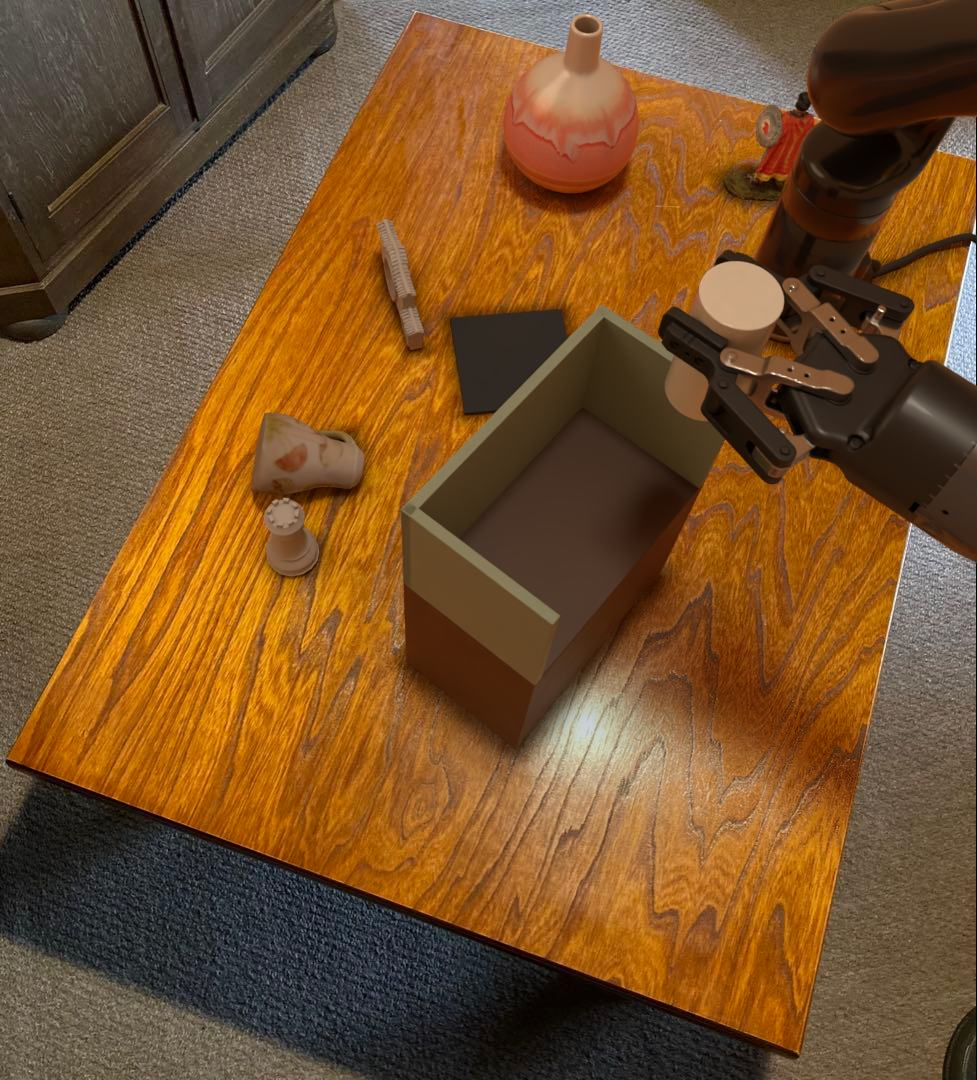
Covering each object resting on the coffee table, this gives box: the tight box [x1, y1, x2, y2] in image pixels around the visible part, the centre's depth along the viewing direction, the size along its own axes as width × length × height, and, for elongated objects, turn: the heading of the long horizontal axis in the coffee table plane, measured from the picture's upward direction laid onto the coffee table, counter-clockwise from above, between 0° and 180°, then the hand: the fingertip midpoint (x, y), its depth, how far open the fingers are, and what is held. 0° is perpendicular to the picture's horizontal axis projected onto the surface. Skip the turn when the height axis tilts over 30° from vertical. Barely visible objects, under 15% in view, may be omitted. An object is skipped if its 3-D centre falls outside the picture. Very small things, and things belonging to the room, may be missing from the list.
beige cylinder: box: [665, 261, 784, 421], centre depth 61 cm, size 5×5×9 cm
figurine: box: [723, 90, 815, 202], centre depth 109 cm, size 8×5×12 cm, turn 81°
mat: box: [449, 308, 569, 416], centre depth 103 cm, size 11×11×1 cm
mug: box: [251, 412, 366, 496], centre depth 94 cm, size 8×10×10 cm
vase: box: [502, 13, 640, 194], centre depth 106 cm, size 14×14×18 cm
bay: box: [400, 303, 726, 750], centre depth 79 cm, size 12×21×27 cm, turn 141°
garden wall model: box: [375, 218, 425, 351], centre depth 102 cm, size 12×2×6 cm, turn 16°
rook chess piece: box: [263, 497, 320, 577], centre depth 89 cm, size 4×4×8 cm
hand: (691, 292), depth 60 cm, fingers closed on beige cylinder, 4 cm apart
